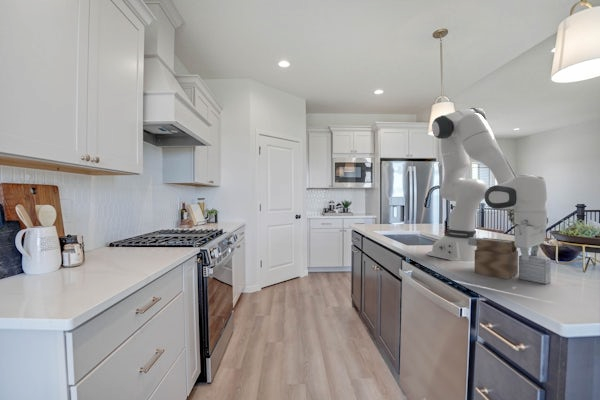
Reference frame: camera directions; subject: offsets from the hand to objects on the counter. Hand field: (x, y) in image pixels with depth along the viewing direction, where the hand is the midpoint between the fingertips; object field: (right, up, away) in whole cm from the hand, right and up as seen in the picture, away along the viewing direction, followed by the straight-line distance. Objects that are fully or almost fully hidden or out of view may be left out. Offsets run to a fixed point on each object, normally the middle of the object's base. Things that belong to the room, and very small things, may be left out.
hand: (530, 257), depth 96 cm
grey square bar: (-7, +2, +11) cm, 13 cm away
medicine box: (+2, -9, 0) cm, 9 cm away
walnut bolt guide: (-5, -8, +9) cm, 13 cm away
